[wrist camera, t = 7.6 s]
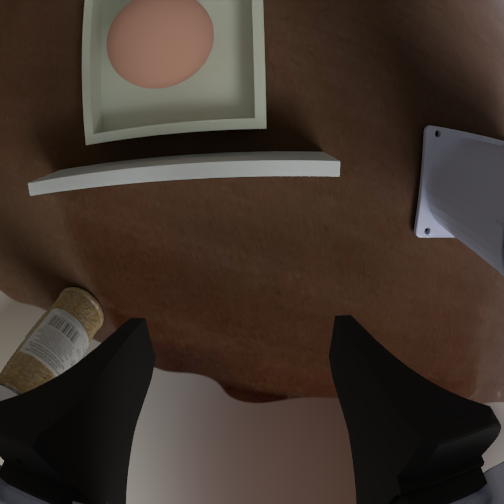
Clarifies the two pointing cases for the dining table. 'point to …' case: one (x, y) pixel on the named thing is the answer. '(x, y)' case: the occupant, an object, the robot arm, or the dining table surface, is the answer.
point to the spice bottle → (53, 343)
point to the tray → (185, 93)
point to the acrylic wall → (189, 169)
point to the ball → (160, 41)
